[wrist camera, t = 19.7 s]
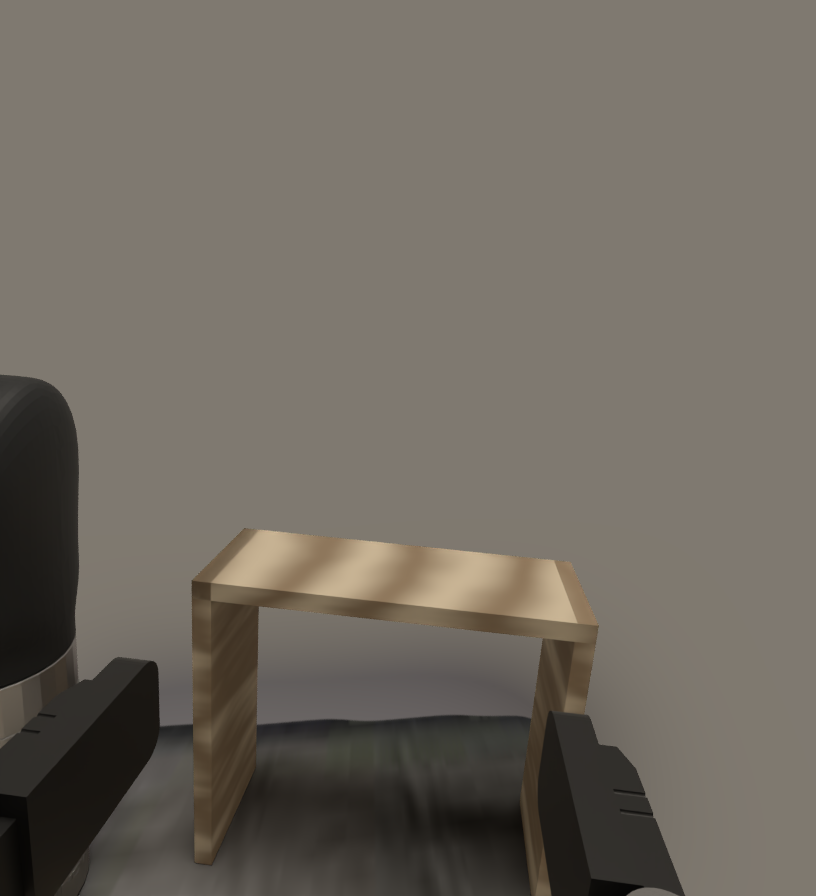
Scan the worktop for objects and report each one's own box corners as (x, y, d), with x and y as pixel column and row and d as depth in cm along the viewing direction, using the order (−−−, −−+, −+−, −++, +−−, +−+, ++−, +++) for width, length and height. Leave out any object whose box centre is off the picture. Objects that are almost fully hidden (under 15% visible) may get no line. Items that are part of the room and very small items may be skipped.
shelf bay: (194, 862, 41) (191, 580, 36) (241, 765, 49) (244, 528, 44) (551, 914, 39) (598, 625, 34) (534, 804, 48) (570, 562, 43)
